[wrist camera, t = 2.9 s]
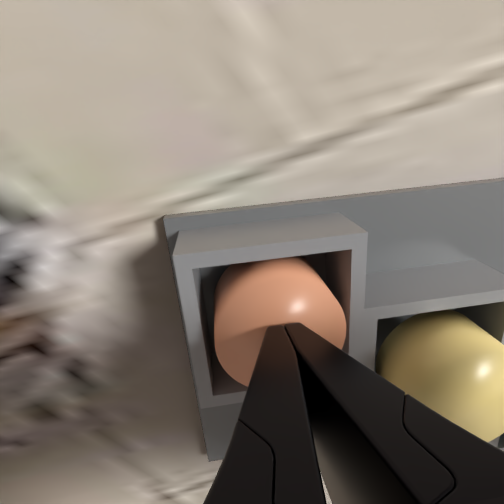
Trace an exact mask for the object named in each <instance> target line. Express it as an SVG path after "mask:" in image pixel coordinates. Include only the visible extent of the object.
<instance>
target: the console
mask: <svg viewBox="0 0 504 504" xmlns="http://www.w3.org/2000/svg"><path fill="white" fill-rule="evenodd" d="M163 221H164V226H165V232H166V237H167V242H168V248H169V253H170V258H171V264H172V269H173V274H174V280H175V285H176V290H177V295H178V301H179V306H180V311H181V317H182V322H183V327H184V333H185V338H186V343H187V349H188V354H189V359H190V365H191V370H192V375H193V381H194V386H195V391H196V396H197V402H198V407H199V412H200V418H201V423H202V428H203V434H204V439H205V444H206V450H207V455H208V460H209V461H215V460H221V459H224V457H225V454H226V451H227V448H228V446H229V443H230V440H231V437H232V434H233V431H234V428H235V425H236V423H237V422H238V421H237V420H238V416H239V413H240V410H241V407H242V404H243V401H244V398H245V394H246V391H247V388H248V387H247V386H245V385H243V384H241V383H239V382H237V381H236V380H234V379H233V378H232V377H231V376H230V375H229V374H228V373H227V372H226V371H225V370H224V369H223V367H222V366H221V364H220V362H219V360H218V357H217V355H216V350H215V341H214V292H215V288H216V285H217V283H218V281H219V279H220V277H221V275H222V274H223V273H224V271H225V270H226V269H227V268H228V267H229V266H230V265H231V264H236V263H244V262H252V261H260V260H269V259H277V258H285V257H293V256H301V257H303V258H304V259H305V260H307V261H308V262H309V263H310V264H311V265H312V267H313V268H314V269H315V270H316V272H317V273H318V275H319V276H320V277H321V279H322V280H323V281H324V283H325V284H326V286H327V287H328V288H329V290H330V291H331V293H332V294H333V295H334V297H335V298H336V299H337V301H338V302H339V304H340V306H341V307H342V310H343V312H344V315H345V320H346V337H345V341H344V345H343V347H342V351H344V352H345V353H347V354H348V355H350V356H351V357H353V358H354V359H356V360H357V361H359V362H360V363H362V364H364V365H365V366H367V367H368V368H370V369H371V370H373V371H374V372H376V358H377V355H378V351H379V349H380V347H381V345H382V343H383V342H384V340H385V339H386V337H387V336H388V335H389V334H390V333H391V332H392V331H393V329H395V328H396V327H397V326H398V325H399V324H401V323H402V322H403V321H405V320H407V319H408V318H410V317H412V316H414V315H416V314H419V313H426V312H433V311H440V310H447V309H448V310H453V311H456V312H459V313H461V314H463V315H465V316H466V317H467V318H469V319H470V320H471V321H473V322H474V323H475V324H476V325H478V326H479V327H480V328H482V329H483V330H484V331H486V332H487V333H488V334H490V335H491V336H492V337H494V338H495V339H496V340H498V341H499V342H500V343H502V344H503V345H504V178H497V179H488V180H479V181H470V182H461V183H452V184H443V185H434V186H425V187H416V188H407V189H398V190H389V191H380V192H371V193H362V194H353V195H344V196H335V197H326V198H317V199H307V200H298V201H289V202H280V203H271V204H262V205H253V206H244V207H235V208H226V209H217V210H208V211H199V212H190V213H181V214H172V215H165V216H164V218H163ZM488 443H490V444H491V445H493V446H495V447H497V448H499V449H500V450H502V451H504V433H503V434H501V435H500V436H498V437H497V438H495V439H494V440H492V441H490V442H488Z"/></svg>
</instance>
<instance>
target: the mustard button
mask: <svg viewBox="0 0 504 504" xmlns="http://www.w3.org/2000/svg"><path fill="white" fill-rule="evenodd" d="M376 373H377V374H379V375H380V376H382V377H383V378H385V379H386V380H388V381H389V382H391V383H392V384H394V385H395V386H397V387H398V388H400V389H401V390H403V391H404V392H405V395H406V394H409V395H411V396H412V397H414V398H415V399H417V400H418V401H420V402H421V403H423V404H424V405H426V406H427V407H429V408H430V409H432V410H434V411H435V412H437V413H438V414H440V415H442V416H443V417H445V418H446V419H448V420H450V421H451V422H453V423H455V424H456V425H458V426H460V427H462V428H463V429H465V430H467V431H468V432H470V433H472V434H474V435H475V436H477V437H479V438H481V439H482V440H484V441H486V442H490V441H492V440H494V439H495V438H497V437H498V436H500V435H501V434H503V433H504V345H503V344H502V343H500V342H499V341H498V340H496V339H495V338H494V337H492V336H491V335H490V334H488V333H487V332H486V331H484V330H483V329H482V328H480V327H479V326H478V325H476V324H475V323H474V322H473V321H471V320H470V319H469V318H467V317H466V316H465V315H463V314H461V313H459V312H456V311H453V310H448V309H447V310H440V311H433V312H426V313H419V314H416V315H414V316H412V317H410V318H408V319H407V320H405V321H403V322H402V323H401V324H399V325H398V326H397V327H396V328H395V329H393V331H392V332H391V333H390V334H389V335H388V336H387V337H386V339H385V340H384V342H383V343H382V345H381V347H380V349H379V351H378V355H377V358H376Z"/></svg>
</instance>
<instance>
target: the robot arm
mask: <svg viewBox="0 0 504 504" xmlns="http://www.w3.org/2000/svg"><path fill="white" fill-rule="evenodd" d="M237 421H238V422H237V423H236V425H235V428H234V431H233V434H232V437H231V440H230V443H229V446H228V448H227V451H226V454H225V457H224V459H223V462H222V464H221V466H220V468H219V471H218V473H217V475H216V477H215V480H214V482H213V484H212V486H211V489H210V491H209V493H208V495H207V497H206V499H205V501H204V503H203V504H327V503H326V498H325V493H324V488H323V483H322V478H321V474H322V477H323V480H324V482H325V485H326V488H327V491H328V493H329V496H330V499H331V501H332V504H504V451H502V450H500V449H499V448H497V447H495V446H493V445H491V444H490V443H488V442H486V441H484V440H482V439H481V438H479V437H477V436H475V435H474V434H472V433H470V432H468V431H467V430H465V429H463V428H462V427H460V426H458V425H456V424H455V423H453V422H451V421H450V420H448V419H446V418H445V417H443V416H442V415H440V414H438V413H437V412H435V411H434V410H432V409H430V408H429V407H427V406H426V405H424V404H423V403H421V402H420V401H418V400H417V399H415V398H414V397H412V396H411V395H409V394H406V395H405V392H404V391H403V390H401V389H400V388H398V387H397V386H395V385H394V384H392V383H391V382H389V381H388V380H386V379H385V378H383V377H382V376H380V375H379V374H377V373H376V372H374V371H373V370H371V369H370V368H368V367H367V366H365V365H364V364H362V363H360V362H359V361H357V360H356V359H354V358H353V357H351V356H350V355H348V354H347V353H345V352H344V351H342V350H341V349H339V348H338V347H336V346H335V345H333V344H332V343H330V342H329V341H327V340H326V339H324V338H323V337H321V336H320V335H318V334H317V333H315V332H314V331H312V330H311V329H309V328H308V327H306V326H305V325H303V324H302V323H300V322H296V323H289V324H285V325H284V326H283V325H275V326H269V327H267V329H266V332H265V335H264V338H263V341H262V345H261V348H260V351H259V354H258V357H257V360H256V363H255V366H254V370H253V373H252V376H251V379H250V382H249V385H248V388H247V391H246V394H245V398H244V401H243V404H242V407H241V410H240V413H239V416H238V420H237ZM320 472H321V473H320Z"/></svg>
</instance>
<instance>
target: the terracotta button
mask: <svg viewBox="0 0 504 504" xmlns="http://www.w3.org/2000/svg"><path fill="white" fill-rule="evenodd" d="M296 322H300V323H302V324H303V325H305V326H306V327H308V328H309V329H311V330H312V331H314V332H315V333H317V334H318V335H320V336H321V337H323V338H324V339H326V340H327V341H329V342H330V343H332V344H333V345H335V346H336V347H338V348H339V349H341V350H342V347H343V345H344V341H345V337H346V320H345V315H344V312H343V310H342V307H341V306H340V304H339V302H338V301H337V299H336V298H335V297H334V295H333V294H332V293H331V291H330V290H329V288H328V287H327V286H326V284H325V283H324V281H323V280H322V279H321V277H320V276H319V275H318V273H317V272H316V270H315V269H314V268H313V267H312V265H311V264H310V263H309V262H308V261H307V260H305V259H304V258H303V257H301V256H293V257H285V258H277V259H269V260H260V261H252V262H244V263H236V264H231V265H230V266H229V267H228V268H227V269H226V270H225V271H224V273H223V274H222V275H221V277H220V279H219V281H218V283H217V285H216V288H215V292H214V341H215V350H216V355H217V357H218V360H219V362H220V364H221V366H222V367H223V369H224V370H225V371H226V372H227V373H228V374H229V375H230V376H231V377H232V378H233V379H234V380H236V381H237V382H239V383H241V384H243V385H245V386H247V387H248V385H249V382H250V379H251V376H252V373H253V370H254V366H255V363H256V360H257V357H258V354H259V351H260V348H261V345H262V341H263V338H264V335H265V332H266V329H267V327H269V326H275V325H283V326H284V325H285V324H289V323H296Z"/></svg>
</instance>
